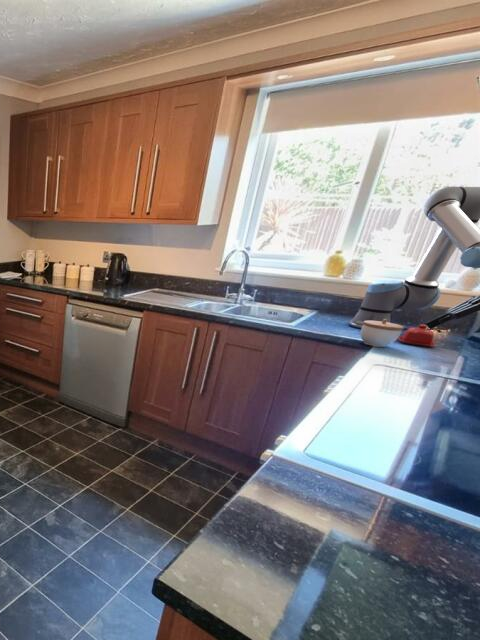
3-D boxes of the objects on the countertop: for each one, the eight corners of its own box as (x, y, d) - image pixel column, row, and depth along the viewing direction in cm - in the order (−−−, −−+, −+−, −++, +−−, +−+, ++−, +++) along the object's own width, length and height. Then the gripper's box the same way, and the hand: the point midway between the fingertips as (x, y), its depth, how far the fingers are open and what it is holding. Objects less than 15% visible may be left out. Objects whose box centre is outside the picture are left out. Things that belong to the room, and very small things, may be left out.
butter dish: (434, 349, 178) (444, 329, 175) (397, 343, 185) (405, 324, 182) (432, 344, 186) (441, 325, 182) (396, 338, 193) (404, 320, 190)
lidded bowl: (397, 351, 173) (409, 324, 169) (357, 345, 179) (368, 319, 175) (391, 344, 182) (402, 319, 178) (353, 339, 189) (363, 314, 185)
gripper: (525, 299, 151) (439, 336, 165) (506, 294, 162) (427, 329, 176) (511, 283, 152) (427, 321, 166) (493, 279, 162) (415, 315, 176)
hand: (427, 325), depth 171 cm, fingers closed
